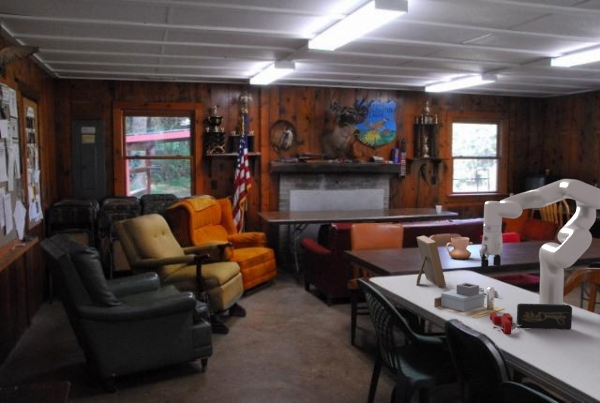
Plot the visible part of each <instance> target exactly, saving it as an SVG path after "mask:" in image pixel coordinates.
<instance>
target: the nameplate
mask: <svg viewBox="0 0 600 403" xmlns="http://www.w3.org/2000/svg"><path fill="white" fill-rule="evenodd" d="M572 314H573V307H572V306H571V305H570V304H565V305H562V304H539V303H520V302H519V303H517V305H516V324H517V325H518V326H517V328H519V329H526V328H531V329H532V330H535V329H536V330H561V331H562V330H563V331H565V330H566V331H567V330H568V331H569V330H572V326H573V325H572V320H573V315H572ZM531 329H530V330H531Z"/></svg>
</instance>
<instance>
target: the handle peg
mask: <svg viewBox="0 0 600 403" xmlns="http://www.w3.org/2000/svg"><path fill="white" fill-rule="evenodd" d="M494 290H495V287H493V286H488V287H486V293H487V296H486V305H487V310H490V311H492V310H494V307H495V298H494Z"/></svg>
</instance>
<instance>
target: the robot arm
mask: <svg viewBox="0 0 600 403" xmlns="http://www.w3.org/2000/svg"><path fill="white" fill-rule="evenodd" d="M567 199H571V200H573V201H575V203H576V209H575V210H576V211H575V213H574V214H573V215H572V217H570V219H569V220H568V221H567V222H566V224H564V226H562V228H561V229H560V230H558V231H559V232H558V233H557V240H558V241H559V242H560V243H561V244H560V243H557V242H546V243H544V244H543V245H542V246H541V247H540V248H539V251H538V257H539V265H540V266H539V269H540V275H539V277H540V278H539V300H538V301H539V302H538V304H562V305H566V303H564V283H565V282H564V281H565V280H564V279H565V272H564V269H568V268H569V267H571V266H573V265H574V264H575V263H576V262H577V261H578V259H579V258H581V256H582V255H583V254H584V253H585V252H586V251H587V250H588V249H589V248H590V246H591V244H592V241H593V236H592V233H591V232H590V229H591V227H592V226H593V225H594V223H595V222H596V220H597V219H596V218H597V210H600V188H599V187H596V186H594V185H591V184H588V183H585V181H581V180H579V179H573V178H572V179H571V178H563V179H560V180H559V179H558V180H557V181H554V182H551V183H549V184H546V185H543V186H541V187H538V188H535V189H531V190H527V191H524V192H520V193H517V194H514V195H511V196H509V197H506V198H504V199H501V200H500V201H497V200H487V201H485V203H484V206H483V207H484V208H483V228H482V229H483V230H482V231H483V235H482V241H481V248H479V257H480V260H481V263H480V264H481V265H480V268H482V269H486V270H488V269H489V264H490V263H489V257H490V256H493V266H497V267H500V266H501V262H502V260H501V259H502V254H503V252H504V251H503V250H504V245H503V234H502V225H503V222H502V221H503V218H506V219H517V218H519V217H520V216H521V215H522V213H523V210H527V209H537V208H539V209H540V208H545V207H548V206H550V205H553V204H555V203H558V202H560V201H561V202H562V201H563V200H567Z"/></svg>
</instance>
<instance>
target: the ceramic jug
mask: <svg viewBox="0 0 600 403" xmlns="http://www.w3.org/2000/svg"><path fill="white" fill-rule="evenodd" d="M450 241H451V242H447V243H446V246H445V248H446V251H447V252H448V255H449V257H451V258H453V259H456V260H466V259H469V258H470V257H471V255H472V252H471V251H469V250H468V249H467V248H468V246H469V245H473V242H471V241H470V238H469V237H467V236H466V237H465V236H463V237H462V236H461V237H460V236H459V237H451V238H450ZM449 245H450V246H452V247H453V249H451V250H450V249H449Z"/></svg>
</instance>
